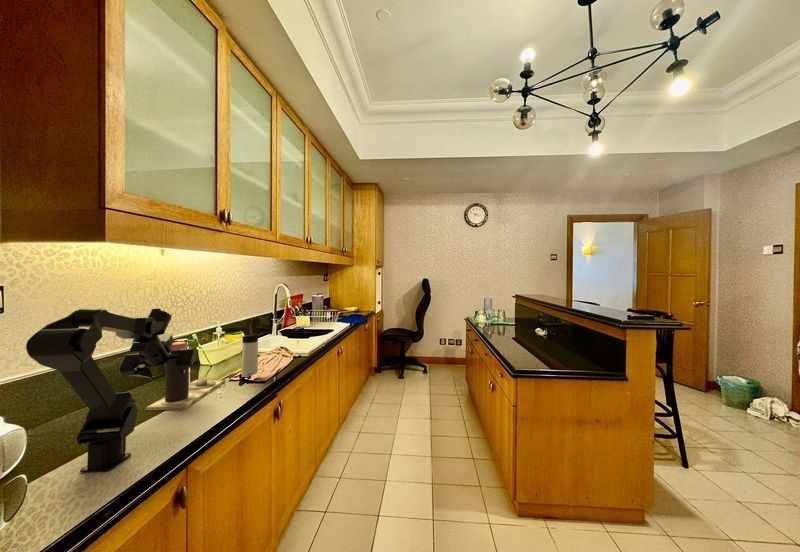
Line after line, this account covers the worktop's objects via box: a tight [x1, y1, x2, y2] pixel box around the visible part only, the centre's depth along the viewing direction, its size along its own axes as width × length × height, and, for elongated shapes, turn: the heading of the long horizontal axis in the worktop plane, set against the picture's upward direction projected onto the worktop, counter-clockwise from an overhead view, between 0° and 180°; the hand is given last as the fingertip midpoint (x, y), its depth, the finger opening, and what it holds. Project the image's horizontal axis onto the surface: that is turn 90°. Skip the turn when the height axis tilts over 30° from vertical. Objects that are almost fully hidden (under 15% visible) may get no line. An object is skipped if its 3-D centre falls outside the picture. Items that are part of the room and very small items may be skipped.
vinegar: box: [164, 341, 190, 402], centre depth 106 cm, size 7×7×20 cm
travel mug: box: [241, 333, 259, 378], centre depth 132 cm, size 6×7×20 cm
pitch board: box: [145, 378, 226, 411], centre depth 114 cm, size 27×12×3 cm, turn 4°
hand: (167, 374), depth 99 cm, fingers open, 9 cm apart
